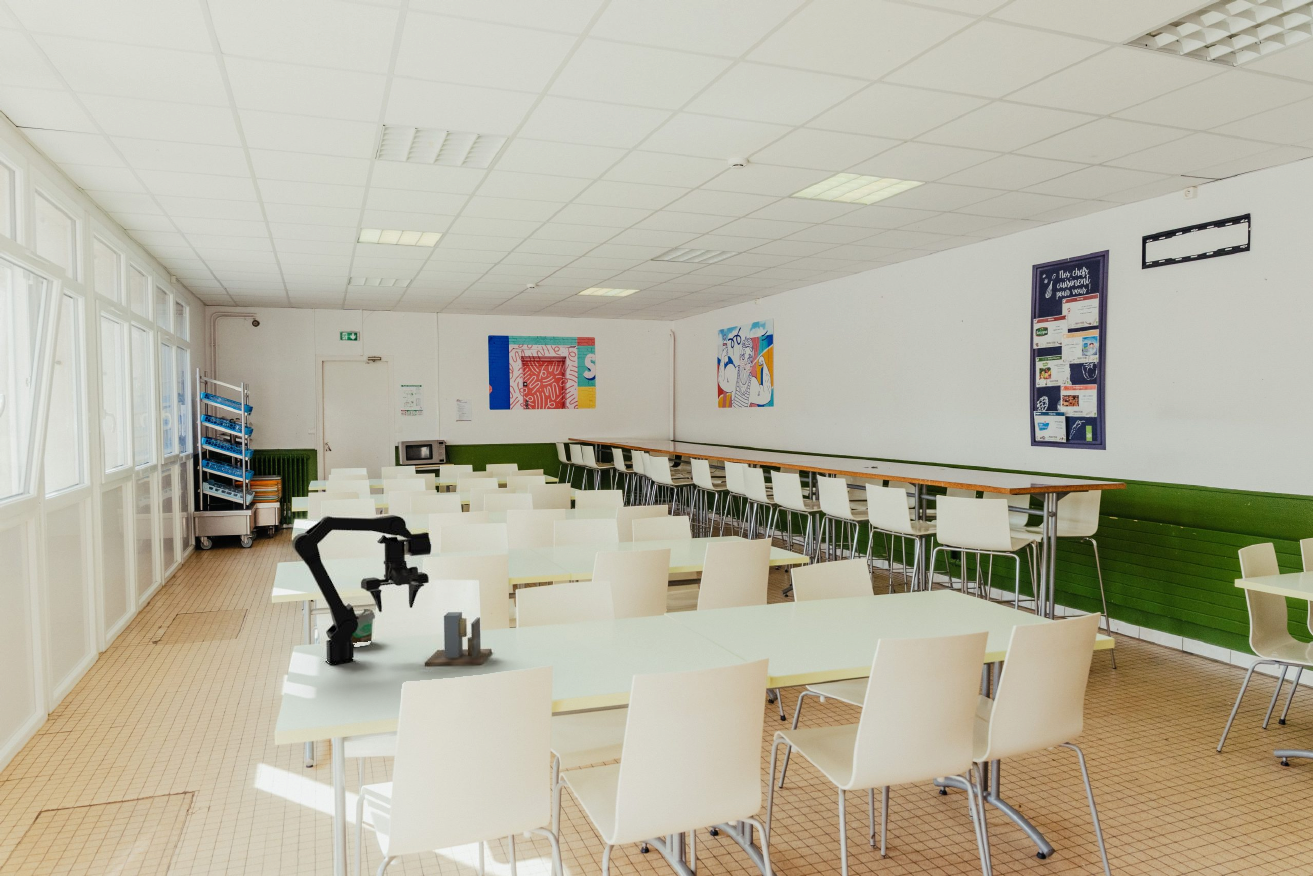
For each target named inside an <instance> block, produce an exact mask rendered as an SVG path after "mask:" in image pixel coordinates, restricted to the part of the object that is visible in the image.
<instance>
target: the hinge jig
mask: <svg viewBox="0 0 1313 876" xmlns="http://www.w3.org/2000/svg"><path fill="white" fill-rule="evenodd" d="M470 624H471V625H470V627H471V628H470V629H471V630H470V631H471V633H470V634H471V636H469V637H467V648H466V649H463V653H462V655H461V656H460V657H459V658H445V649H437V650H436V651H435V652H433V654H432V655H431V656H429V658H428V659H427V660H426V661H424V667H438V666H439V667H440V666H441V667H442V666H443V667H444V666H447V667H448V666H450V667H451V666H478V665H479V666H481V665H483V664H484V662H485V661H486V660H487V659H488V657H489V656H490V655H491V654H492V648H481V644H482V643H481V617H476V618H475V619H474V620H473V621H472V622H471V623H470Z"/></svg>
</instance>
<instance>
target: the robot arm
mask: <svg viewBox="0 0 1313 876" xmlns="http://www.w3.org/2000/svg"><path fill="white" fill-rule="evenodd" d="M333 531H352V532H353V531H357V532H376V533H380V534H382V536H381V537H380V538H379V539H378V540H377V543H378V544H381V545H383V544H384V560H383V565H384V574H383V578H382V579H380V578H378V577H366V578H365V577H364V578H363V579H362V580H361V581H360V589H363V590H365V591H366V592H369V593H370V595H371V596H372V597H371V598H373V601H374V603H375V605H376V607H377V609H378V612H379V613H382V611H383V609H382V608H383V605H382V592H383V591H382V589H381V587H382V586H388V585H395V586H398V587H400V586H402V585H403V586H404V585H408V604H409V606H408V607H409V608H410V609H412V608H413V606H414V603H415V600H416V597H417V594H418V592H419V591H420V589H421V588H422V587H424V586H425V584H428V583H429V582H430V580H429V579H430V578H429V575H428V574H427V573H425V572H422V571H419V569H418V567H417V566H410V567H408V564H407V560H406V553H407V554H409V556H410V557H416V556H426V555H427V556H428V555H430V554H431V552H432V543H431V539H430V534H429V532H427V531H426V532H425V531H423V532H420V533H411V531H410V530H409V529H408V528H407V522H406V521H405V519H404V518H403V517H401V516H399V515H395V514H390V515H384V516H383V515H382V516H378V517H377V516H376V517H344V516H343V517H341V516H337V517H336V516H329V515H325V516H323V517H322V518H321V520H319V521H318V522H317V523H316V524H314V525H313V526H311V527H309V529H307V530H306V531H305V532H300V533H298V534H297V535H295V536H294V537H293V539H292V542H291V544H292V545H291V546H292V548H293V550H294V551H295V552H296V553H297V555H298V556H299V558H301V560H302V561H303V562H304V563H305V565H306V566H307V567H308V569H309V571H310V574H311V575H312V576H313V579H314V581H315V582H316V585H317V587H318V589H319V590H320V591H321V594H322V596H323V599H324V601H325V602H326V604H327V605H328V607H329V611H330V616H331V619H332V620H331V621H332V622H333V624H332V625H330V627H329V628H328V629H326V631H325V632H326V636H327V640H326V642H325V644H326V659H327V661H328V662H329V663H330V664H334V665H336V664H335V663H340V664H342V663H341V662H346V663H348V662H347V661H352V662H354V661H355V658H354V656H355V654H354V653H355V650H354V649H355V648H354V644H353V643H352V639H351V637H352V634H353V633H355V632H356V630H357V628H358V621H357V619H359V618H358V617H357V616H356V615H355V614H356V612H355V609H354V607H353V606H352V604H350V603H348V604H346V605H345V603H344V602H343V599H342V598H341V597H340V595H339V593H338V591H337V588H336V587H335V585H334V583H333V580H332V578H331V577H330V575H329V573H328V571H327V569H326V568H325V565H324V564H323V562H322V559H321V554H320V549H319V546H318V544H319V543H321V542H322V541H323V540H324V539H325V537H327V535H328V534H330V532H333ZM386 535H391V536H388V537H387V536H386ZM397 536H399V537H402V538H404V539H402V538H401V539H398V537H397ZM328 639H329V640H328ZM353 660H354V661H353ZM329 663H328V664H329ZM330 664H329V665H330Z"/></svg>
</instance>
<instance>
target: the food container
mask: <svg viewBox="0 0 1313 876" xmlns="http://www.w3.org/2000/svg"><path fill="white" fill-rule="evenodd" d="M355 615H356V616H357V617H358V618H359V619H357V621H358V628H357V630H356V632H355V633H353V634H352V637H351V639H352V643H357V642H368V641H371V642H372V638H373V622H374V621H373V620H374V619H375V618H376V615H375V612H374V610H373V609H370V608H363V612H361V613H355ZM354 645H355V644H354Z"/></svg>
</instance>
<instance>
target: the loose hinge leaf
mask: <svg viewBox="0 0 1313 876" xmlns="http://www.w3.org/2000/svg"><path fill="white" fill-rule="evenodd" d="M443 627H444V628H443V634H444V635H443V637H444V640H443V641H444V644H443V646H444V650H445V658H459V657H460V656H461V655H462V653H463V648H464V647H463V646H464V645H463V644H464V642H463V638H466V637H467V636H468V635H467V634H468V633H467V632H468V631H467V618H466V617H463V612H462V611H454V612H452V611H451V612H450V611H449V612H447V613H445V615H443Z"/></svg>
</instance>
